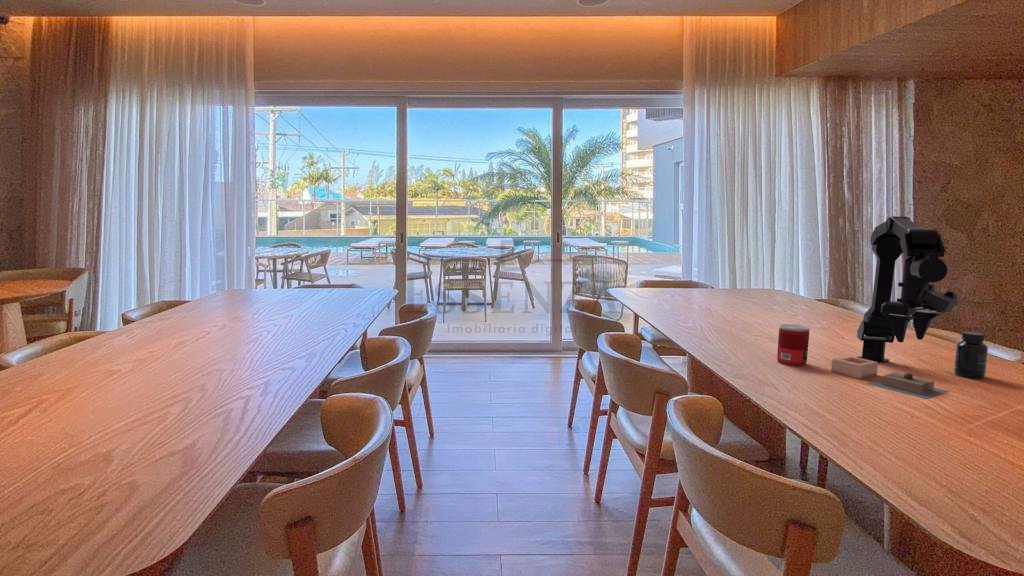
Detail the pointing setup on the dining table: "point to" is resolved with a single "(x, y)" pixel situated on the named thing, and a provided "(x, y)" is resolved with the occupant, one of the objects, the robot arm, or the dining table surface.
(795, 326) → the canned food
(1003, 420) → the dining table surface
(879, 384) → the mat
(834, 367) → the tan box
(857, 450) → the dining table surface
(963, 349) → the supplement bottle
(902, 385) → the lid
